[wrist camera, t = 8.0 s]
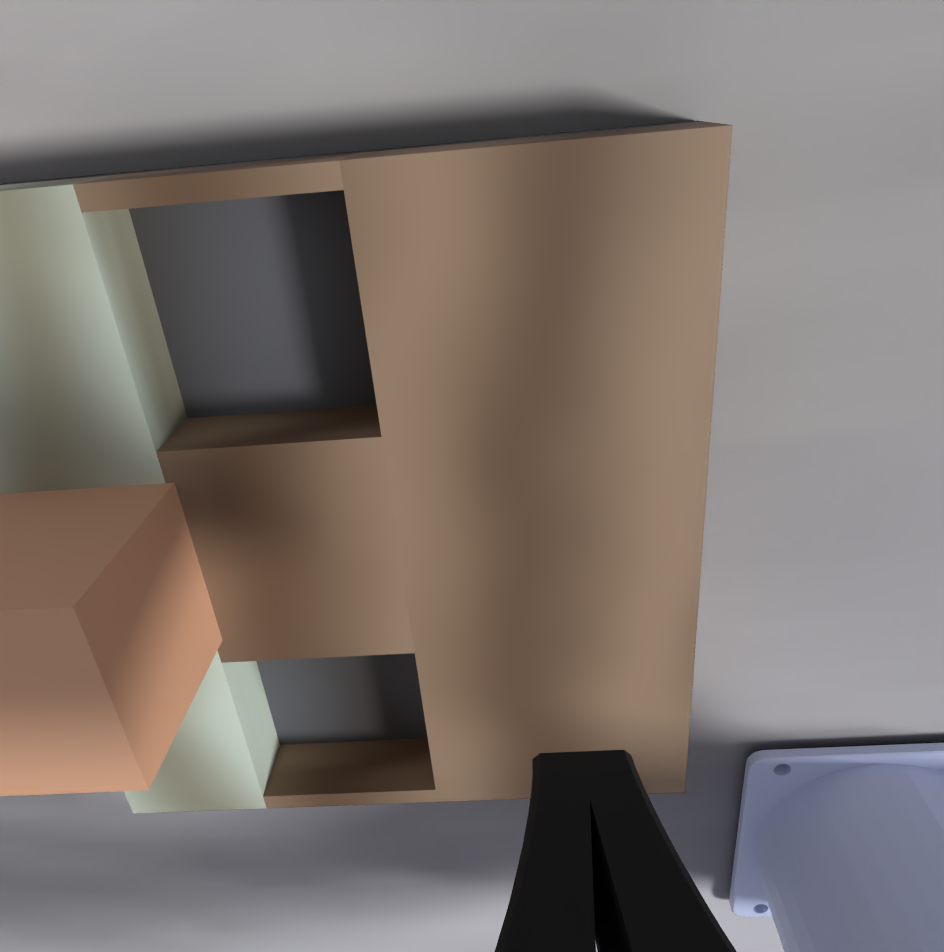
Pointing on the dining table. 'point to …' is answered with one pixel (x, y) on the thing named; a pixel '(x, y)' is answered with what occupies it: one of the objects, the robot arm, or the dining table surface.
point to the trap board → (395, 444)
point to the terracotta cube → (97, 636)
